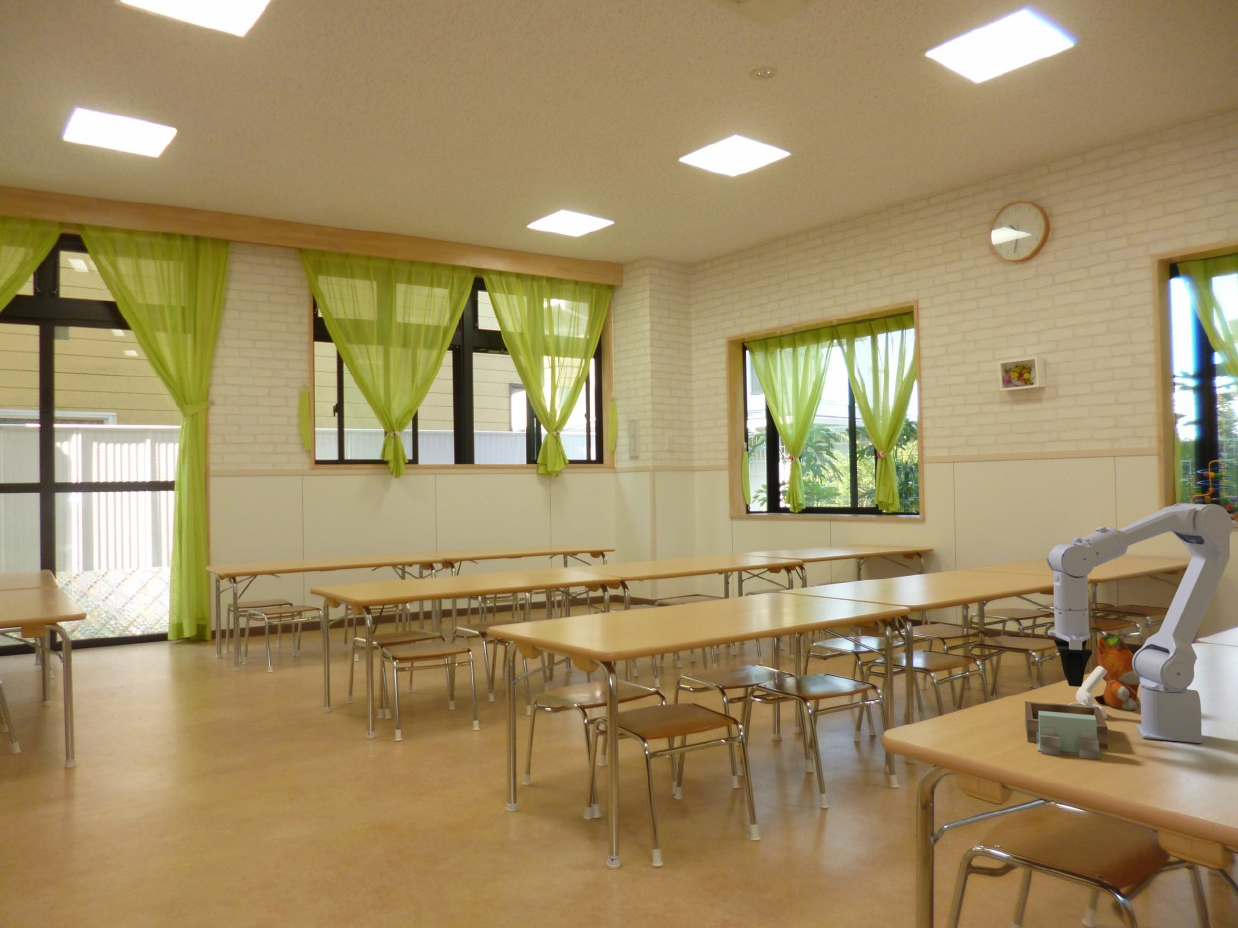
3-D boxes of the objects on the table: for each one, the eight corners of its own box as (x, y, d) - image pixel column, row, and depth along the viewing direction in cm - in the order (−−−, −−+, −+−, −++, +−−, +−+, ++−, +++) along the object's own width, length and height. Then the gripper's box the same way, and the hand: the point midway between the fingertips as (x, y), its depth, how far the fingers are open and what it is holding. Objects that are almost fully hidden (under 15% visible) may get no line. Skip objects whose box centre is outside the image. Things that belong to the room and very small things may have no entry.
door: (1095, 749, 157) (1094, 715, 157) (1097, 754, 154) (1096, 720, 154) (1039, 743, 160) (1038, 710, 160) (1039, 749, 157) (1039, 715, 157)
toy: (1132, 714, 180) (1130, 640, 180) (1085, 705, 186) (1084, 634, 186) (1151, 704, 187) (1150, 633, 187) (1106, 696, 194) (1105, 627, 194)
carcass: (1099, 727, 170) (1099, 707, 170) (1112, 760, 151) (1111, 737, 151) (1025, 721, 175) (1024, 701, 175) (1028, 752, 156) (1028, 729, 157)
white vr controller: (1139, 693, 176) (1115, 675, 175) (1101, 739, 177) (1076, 722, 176) (1115, 676, 183) (1091, 659, 182) (1078, 721, 185) (1054, 704, 183)
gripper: (1044, 602, 174) (1046, 671, 173) (1050, 613, 160) (1052, 688, 160) (1085, 603, 171) (1086, 673, 171) (1094, 615, 157) (1096, 691, 157)
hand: (1072, 681), depth 165 cm, fingers open, 7 cm apart
